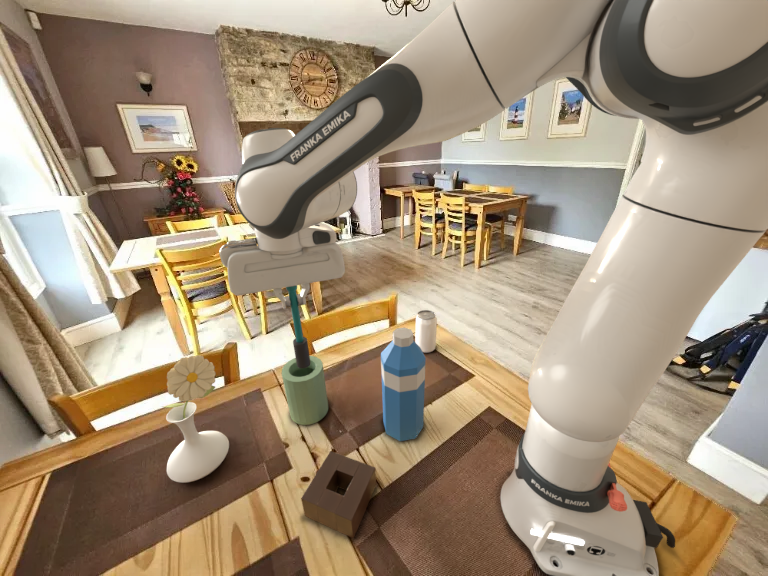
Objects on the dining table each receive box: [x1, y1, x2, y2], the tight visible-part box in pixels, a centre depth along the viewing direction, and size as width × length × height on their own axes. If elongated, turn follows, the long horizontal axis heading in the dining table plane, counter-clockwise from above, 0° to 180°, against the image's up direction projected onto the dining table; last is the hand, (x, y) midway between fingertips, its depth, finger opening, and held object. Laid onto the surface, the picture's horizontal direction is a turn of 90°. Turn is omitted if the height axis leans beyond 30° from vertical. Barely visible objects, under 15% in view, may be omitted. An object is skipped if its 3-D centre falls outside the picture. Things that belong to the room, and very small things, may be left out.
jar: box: [281, 355, 329, 426], centre depth 74 cm, size 9×9×13 cm
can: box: [414, 309, 438, 354], centre depth 96 cm, size 6×6×12 cm
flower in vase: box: [160, 354, 230, 483], centre depth 60 cm, size 13×11×25 cm
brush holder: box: [300, 450, 377, 539], centre depth 56 cm, size 10×10×5 cm
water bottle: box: [380, 327, 427, 442], centre depth 67 cm, size 9×9×25 cm
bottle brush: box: [285, 285, 311, 368], centre depth 61 cm, size 3×3×19 cm
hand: (294, 305), depth 59 cm, fingers closed on bottle brush
